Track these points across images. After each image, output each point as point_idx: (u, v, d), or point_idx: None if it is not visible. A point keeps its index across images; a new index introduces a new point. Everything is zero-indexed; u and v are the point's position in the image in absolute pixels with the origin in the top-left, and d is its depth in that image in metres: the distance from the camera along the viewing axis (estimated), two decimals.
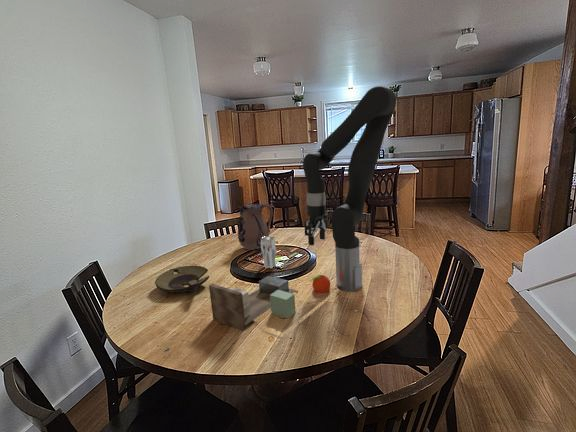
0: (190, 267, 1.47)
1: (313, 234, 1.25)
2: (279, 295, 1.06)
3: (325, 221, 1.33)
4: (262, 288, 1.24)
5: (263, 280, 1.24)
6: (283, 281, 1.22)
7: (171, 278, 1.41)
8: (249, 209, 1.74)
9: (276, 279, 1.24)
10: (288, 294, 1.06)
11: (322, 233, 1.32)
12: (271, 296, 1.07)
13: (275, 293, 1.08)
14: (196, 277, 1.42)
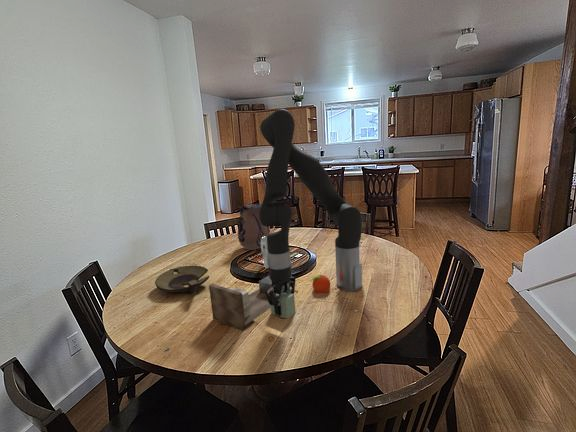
0: (190, 267, 1.47)
1: (279, 302, 1.04)
2: None
3: (291, 285, 1.10)
4: (262, 288, 1.24)
5: (263, 280, 1.24)
6: None
7: (171, 278, 1.41)
8: (249, 209, 1.74)
9: None
10: (288, 294, 1.06)
11: None
12: None
13: None
14: (196, 277, 1.42)
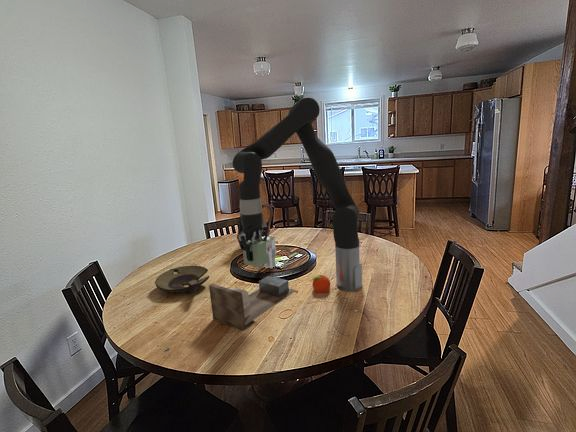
0: (190, 267, 1.47)
1: (251, 248, 1.08)
2: None
3: (264, 234, 1.14)
4: (262, 288, 1.24)
5: (263, 280, 1.24)
6: (283, 281, 1.22)
7: (171, 278, 1.41)
8: None
9: (276, 279, 1.24)
10: (259, 241, 1.11)
11: None
12: None
13: None
14: (196, 277, 1.42)
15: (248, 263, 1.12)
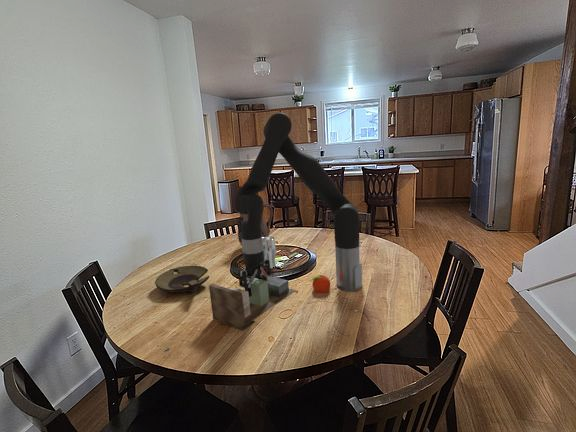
0: (190, 267, 1.47)
1: (249, 285, 1.11)
2: (253, 282, 1.15)
3: (267, 267, 1.19)
4: None
5: None
6: (283, 281, 1.22)
7: (171, 278, 1.41)
8: None
9: (276, 279, 1.24)
10: (262, 281, 1.15)
11: None
12: None
13: None
14: (196, 277, 1.42)
15: (251, 302, 1.16)
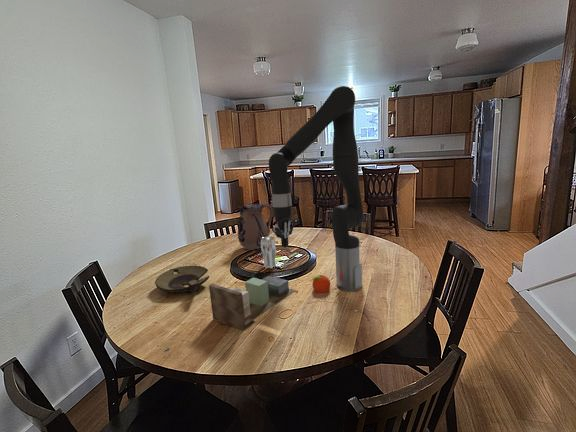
0: (190, 267, 1.47)
1: (285, 236, 1.26)
2: (253, 282, 1.15)
3: (290, 227, 1.29)
4: None
5: None
6: (283, 281, 1.22)
7: (171, 278, 1.41)
8: (249, 209, 1.74)
9: (276, 279, 1.24)
10: (262, 281, 1.15)
11: None
12: (246, 283, 1.15)
13: (250, 280, 1.16)
14: (196, 277, 1.42)
15: (251, 302, 1.16)
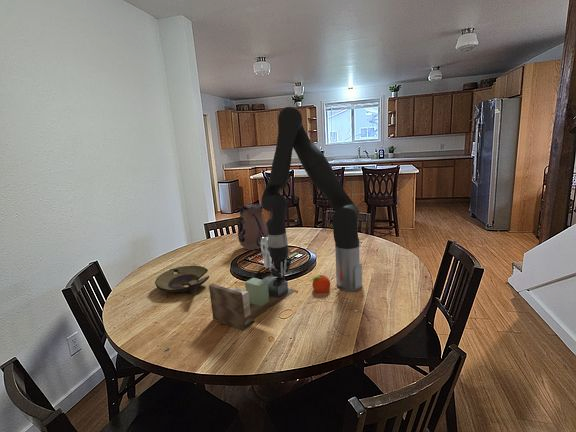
0: (190, 267, 1.47)
1: (282, 274, 1.26)
2: (253, 282, 1.15)
3: (287, 264, 1.29)
4: None
5: None
6: (282, 282, 1.22)
7: (171, 278, 1.41)
8: (249, 209, 1.74)
9: (275, 280, 1.24)
10: (262, 281, 1.15)
11: None
12: (246, 283, 1.15)
13: (250, 280, 1.16)
14: (196, 277, 1.42)
15: (251, 302, 1.16)
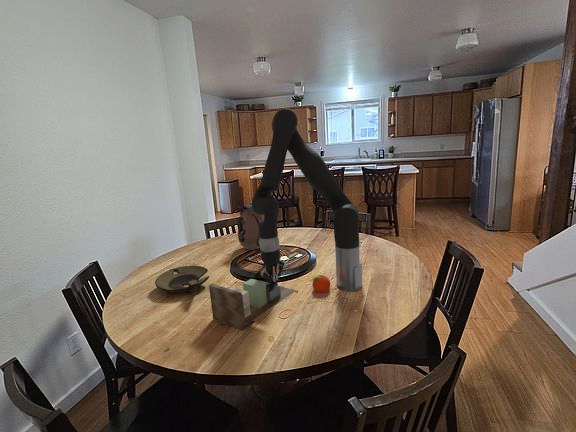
0: (190, 267, 1.47)
1: (274, 279, 1.22)
2: (251, 283, 1.14)
3: (280, 268, 1.25)
4: None
5: None
6: (275, 286, 1.18)
7: (171, 278, 1.41)
8: (249, 209, 1.74)
9: (267, 284, 1.20)
10: (260, 282, 1.14)
11: None
12: (244, 284, 1.14)
13: (248, 281, 1.15)
14: (196, 277, 1.42)
15: None
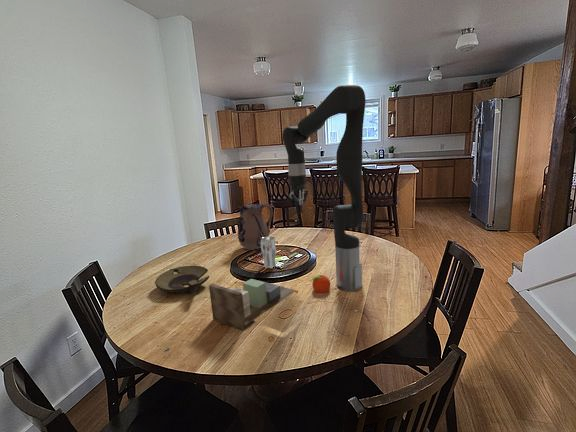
0: (190, 267, 1.47)
1: (300, 203, 1.39)
2: (251, 283, 1.14)
3: (304, 195, 1.42)
4: None
5: None
6: (274, 286, 1.18)
7: (171, 278, 1.41)
8: (249, 209, 1.74)
9: (267, 284, 1.20)
10: (260, 282, 1.14)
11: None
12: (244, 284, 1.14)
13: (248, 282, 1.15)
14: (196, 277, 1.42)
15: None
